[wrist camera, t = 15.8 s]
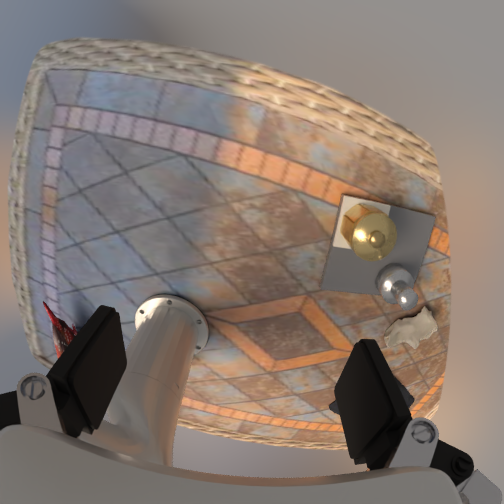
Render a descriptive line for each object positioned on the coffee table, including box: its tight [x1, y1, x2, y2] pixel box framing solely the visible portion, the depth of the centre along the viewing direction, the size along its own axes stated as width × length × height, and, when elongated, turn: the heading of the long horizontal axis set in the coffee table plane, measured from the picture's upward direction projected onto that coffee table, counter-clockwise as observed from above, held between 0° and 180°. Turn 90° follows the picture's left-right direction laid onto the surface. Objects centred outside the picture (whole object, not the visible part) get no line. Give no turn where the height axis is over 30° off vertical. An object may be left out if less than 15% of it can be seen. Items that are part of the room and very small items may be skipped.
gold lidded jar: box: [340, 203, 397, 261], centre depth 33 cm, size 6×6×6 cm
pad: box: [333, 195, 391, 249], centre depth 36 cm, size 7×7×1 cm
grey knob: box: [375, 263, 418, 310], centre depth 36 cm, size 5×5×7 cm
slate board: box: [320, 194, 436, 295], centre depth 38 cm, size 14×16×1 cm
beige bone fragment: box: [384, 306, 438, 349], centre depth 42 cm, size 6×10×4 cm, turn 122°
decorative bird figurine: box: [43, 301, 77, 358], centre depth 41 cm, size 3×18×10 cm, turn 179°
